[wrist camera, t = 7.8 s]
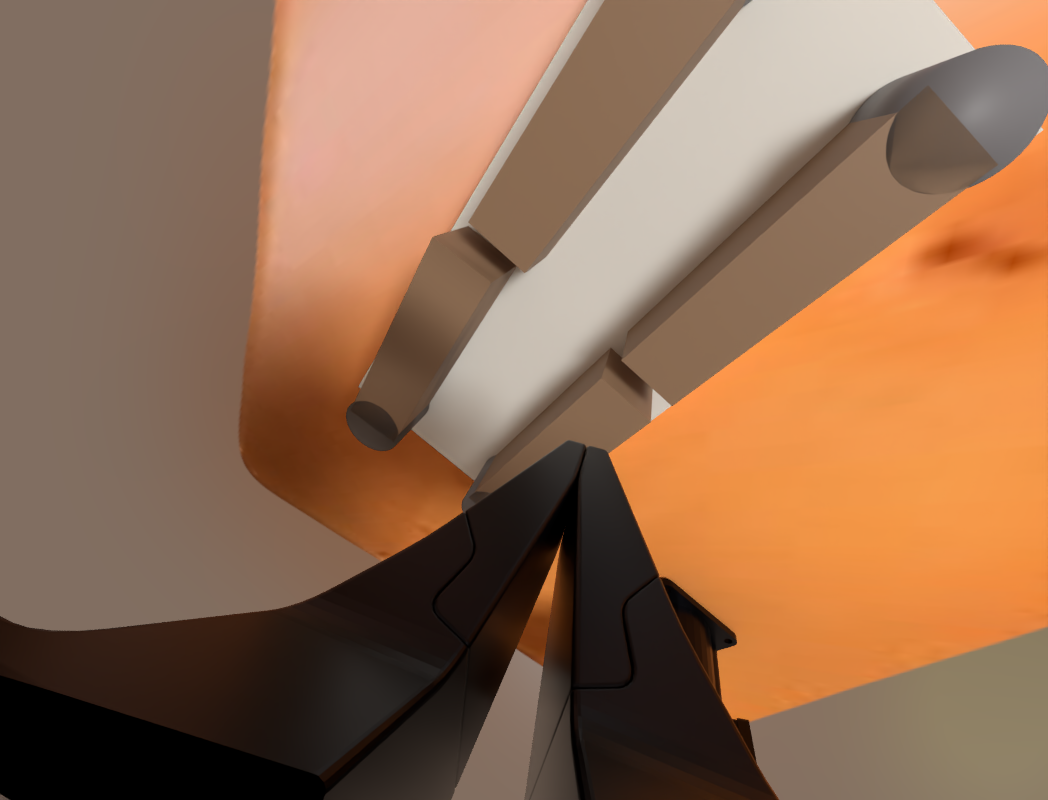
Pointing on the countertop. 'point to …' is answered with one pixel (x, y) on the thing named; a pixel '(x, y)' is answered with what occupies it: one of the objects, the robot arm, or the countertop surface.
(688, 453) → the countertop surface
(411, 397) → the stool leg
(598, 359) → the tray of grey blocks
